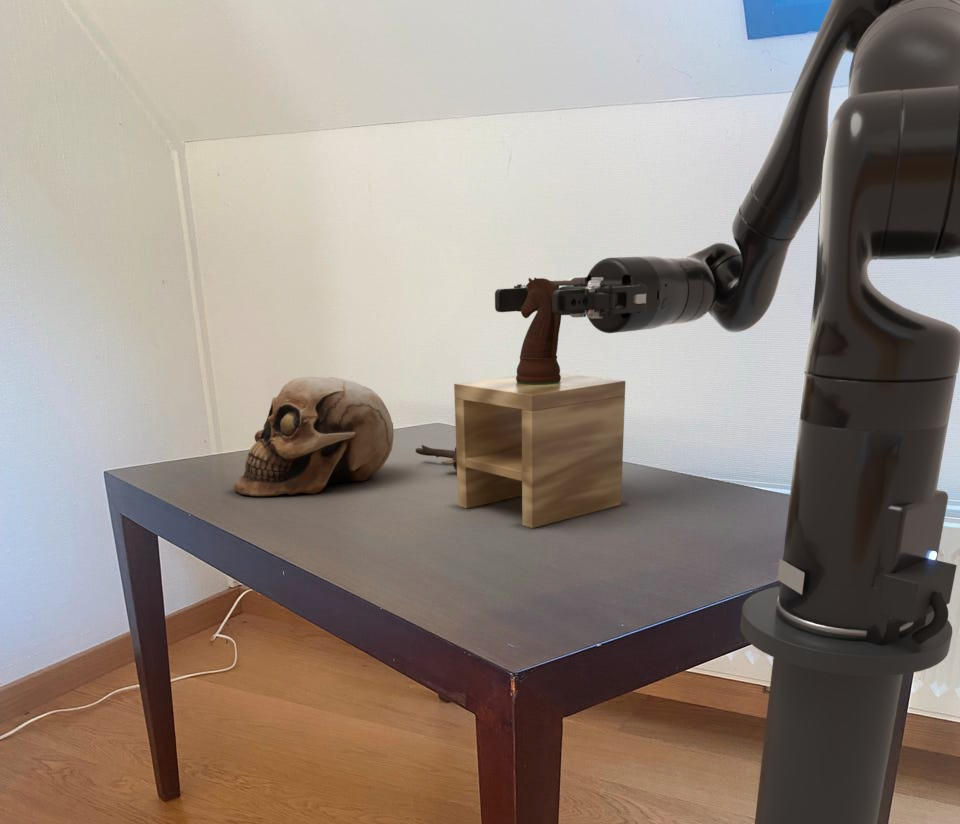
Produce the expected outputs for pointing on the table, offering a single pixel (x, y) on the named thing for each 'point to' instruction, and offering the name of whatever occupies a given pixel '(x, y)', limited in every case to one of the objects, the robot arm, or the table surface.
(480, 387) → the stand
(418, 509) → the table surface
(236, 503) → the table surface
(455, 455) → the tree branch
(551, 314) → the chess piece
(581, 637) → the table surface
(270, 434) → the tan skull
